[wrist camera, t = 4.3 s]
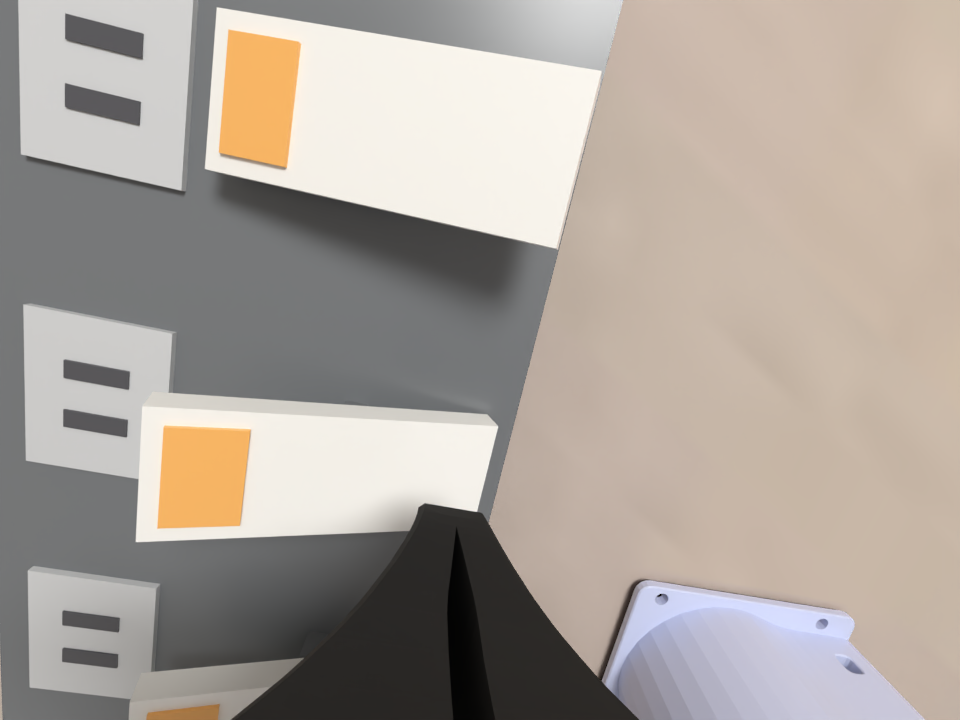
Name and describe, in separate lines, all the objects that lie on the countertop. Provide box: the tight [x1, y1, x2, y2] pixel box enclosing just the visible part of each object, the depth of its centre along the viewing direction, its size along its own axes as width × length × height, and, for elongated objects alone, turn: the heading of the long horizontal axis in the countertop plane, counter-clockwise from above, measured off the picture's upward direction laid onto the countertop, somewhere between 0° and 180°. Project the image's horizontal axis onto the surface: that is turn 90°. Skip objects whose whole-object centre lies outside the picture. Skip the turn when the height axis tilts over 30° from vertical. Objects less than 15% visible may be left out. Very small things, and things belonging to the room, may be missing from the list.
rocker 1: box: [129, 658, 304, 720], centre depth 14 cm, size 8×3×1 cm, turn 77°
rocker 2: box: [205, 7, 602, 250], centre depth 10 cm, size 8×3×1 cm, turn 77°
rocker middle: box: [136, 392, 498, 542], centre depth 12 cm, size 8×3×1 cm, turn 77°
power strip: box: [0, 0, 623, 720], centre depth 14 cm, size 14×26×4 cm, turn 167°
